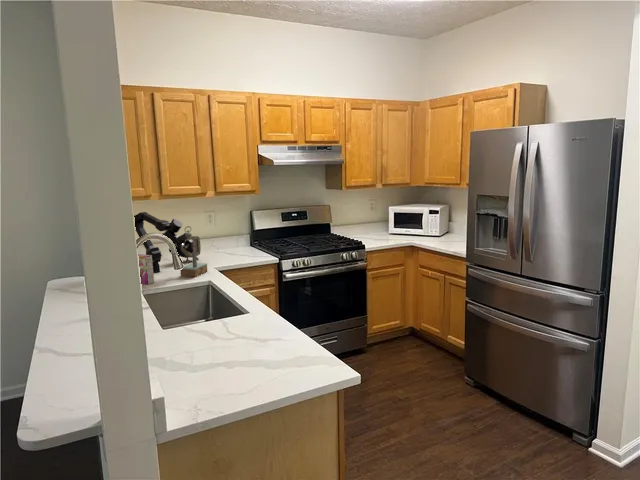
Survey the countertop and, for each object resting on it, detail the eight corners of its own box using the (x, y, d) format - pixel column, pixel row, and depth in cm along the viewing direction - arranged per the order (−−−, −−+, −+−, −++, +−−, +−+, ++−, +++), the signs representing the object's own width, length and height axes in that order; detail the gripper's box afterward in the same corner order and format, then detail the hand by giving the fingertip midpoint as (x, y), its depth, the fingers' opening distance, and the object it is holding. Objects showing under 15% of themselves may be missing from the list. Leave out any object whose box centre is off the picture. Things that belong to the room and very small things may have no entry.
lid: (195, 270, 259) (193, 253, 257) (179, 269, 262) (178, 252, 260) (207, 264, 273) (206, 248, 271) (192, 264, 275) (191, 248, 274)
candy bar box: (133, 283, 250) (131, 255, 247) (140, 281, 254) (138, 253, 252) (148, 284, 245) (145, 256, 243) (154, 282, 250) (152, 254, 247)
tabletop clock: (188, 263, 299) (185, 227, 295) (177, 263, 302) (175, 227, 298) (201, 259, 312) (199, 225, 308) (191, 258, 315) (188, 224, 311)
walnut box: (195, 277, 260) (194, 270, 259) (180, 276, 263) (180, 269, 262) (207, 272, 273) (207, 265, 272) (193, 271, 276) (192, 264, 275)
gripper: (171, 230, 252) (189, 249, 251) (189, 226, 270) (206, 244, 269) (161, 243, 256) (179, 262, 254) (179, 238, 273) (196, 256, 272)
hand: (190, 255), depth 262 cm, fingers open, 9 cm apart
